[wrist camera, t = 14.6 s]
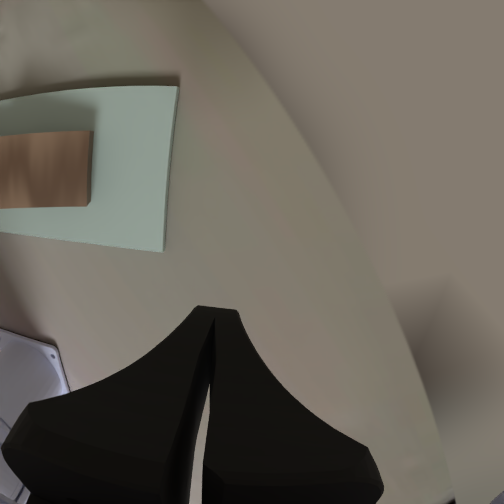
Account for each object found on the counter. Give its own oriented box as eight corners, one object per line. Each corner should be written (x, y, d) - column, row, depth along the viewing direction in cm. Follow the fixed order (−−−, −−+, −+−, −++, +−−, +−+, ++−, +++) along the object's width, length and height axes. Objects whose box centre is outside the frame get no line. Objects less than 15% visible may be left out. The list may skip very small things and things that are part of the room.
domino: (86, 206, 16) (-19, 209, 13) (90, 201, 18) (-9, 204, 15) (89, 130, 15) (-20, 139, 12) (94, 130, 16) (-9, 138, 13)
